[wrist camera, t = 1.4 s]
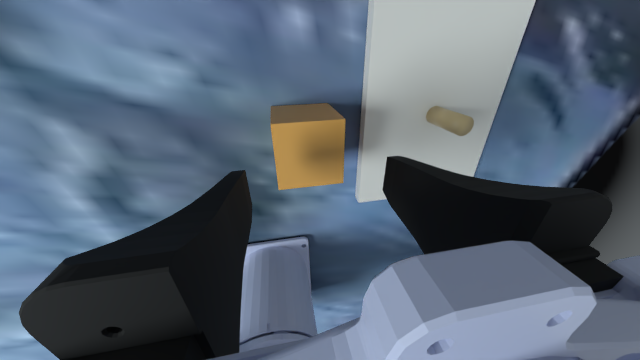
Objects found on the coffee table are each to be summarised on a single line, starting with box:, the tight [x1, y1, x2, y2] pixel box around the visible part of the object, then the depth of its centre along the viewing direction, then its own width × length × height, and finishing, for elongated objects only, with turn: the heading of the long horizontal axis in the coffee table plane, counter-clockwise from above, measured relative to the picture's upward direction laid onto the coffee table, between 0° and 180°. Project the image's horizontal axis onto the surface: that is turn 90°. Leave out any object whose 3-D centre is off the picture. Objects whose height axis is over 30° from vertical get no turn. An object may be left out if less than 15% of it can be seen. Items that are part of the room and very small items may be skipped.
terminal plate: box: [355, 0, 536, 203], centre depth 18 cm, size 16×12×4 cm
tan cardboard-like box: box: [271, 103, 345, 190], centre depth 17 cm, size 4×4×5 cm
